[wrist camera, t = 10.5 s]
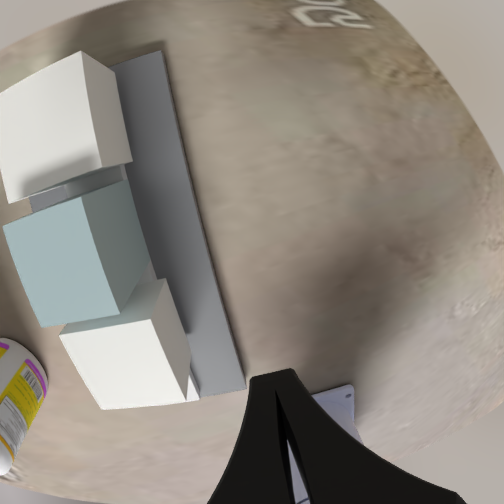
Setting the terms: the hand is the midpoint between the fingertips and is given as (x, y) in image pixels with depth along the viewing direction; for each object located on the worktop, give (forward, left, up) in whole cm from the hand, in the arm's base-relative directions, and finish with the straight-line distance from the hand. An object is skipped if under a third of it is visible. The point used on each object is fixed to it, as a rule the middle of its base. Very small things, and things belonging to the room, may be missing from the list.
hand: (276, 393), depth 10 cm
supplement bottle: (-4, +21, -11) cm, 24 cm away
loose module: (+5, +7, -9) cm, 12 cm away
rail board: (+3, +7, -10) cm, 13 cm away
